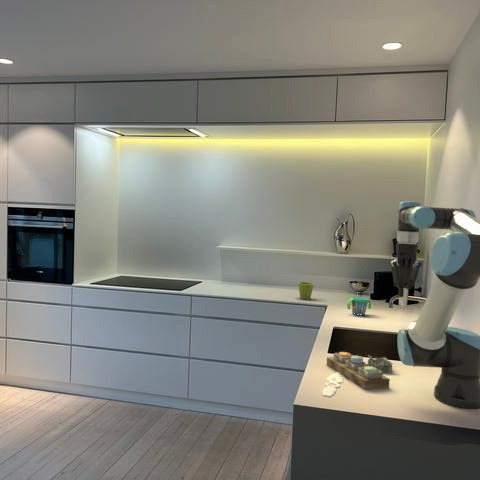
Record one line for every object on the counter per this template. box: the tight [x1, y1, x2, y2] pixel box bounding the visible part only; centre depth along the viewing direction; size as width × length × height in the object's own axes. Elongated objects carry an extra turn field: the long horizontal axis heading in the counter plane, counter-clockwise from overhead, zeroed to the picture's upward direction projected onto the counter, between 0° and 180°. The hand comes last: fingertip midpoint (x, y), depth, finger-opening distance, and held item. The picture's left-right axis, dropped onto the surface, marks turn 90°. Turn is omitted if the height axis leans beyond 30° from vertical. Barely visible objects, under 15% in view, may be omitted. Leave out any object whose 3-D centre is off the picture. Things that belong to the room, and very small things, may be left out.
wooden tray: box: [326, 352, 390, 390], centre depth 172 cm, size 26×10×5 cm, turn 19°
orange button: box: [338, 351, 351, 358], centre depth 180 cm, size 4×4×2 cm
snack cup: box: [346, 296, 372, 315], centre depth 282 cm, size 16×10×10 cm
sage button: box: [364, 365, 377, 373], centre depth 164 cm, size 4×4×2 cm
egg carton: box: [367, 354, 394, 373], centre depth 182 cm, size 11×8×4 cm
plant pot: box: [297, 281, 315, 301], centre depth 326 cm, size 12×12×11 cm
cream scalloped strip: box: [322, 371, 345, 398], centre depth 164 cm, size 6×28×1 cm, turn 160°
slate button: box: [351, 355, 364, 365], centre depth 172 cm, size 4×4×2 cm
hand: (402, 305), depth 174 cm, fingers closed
